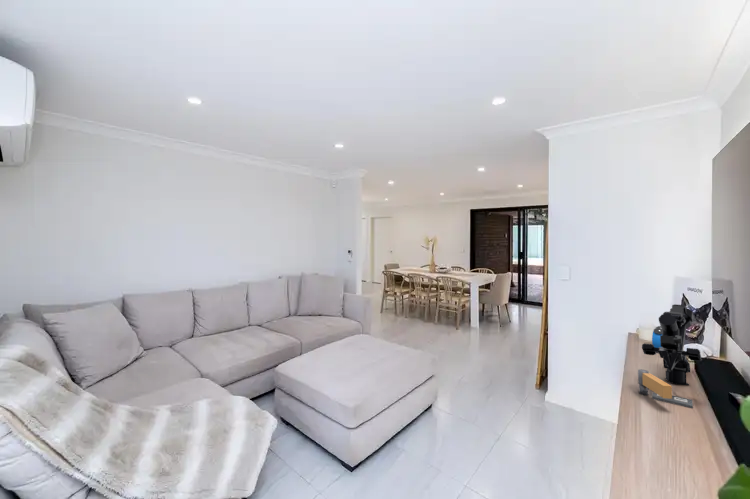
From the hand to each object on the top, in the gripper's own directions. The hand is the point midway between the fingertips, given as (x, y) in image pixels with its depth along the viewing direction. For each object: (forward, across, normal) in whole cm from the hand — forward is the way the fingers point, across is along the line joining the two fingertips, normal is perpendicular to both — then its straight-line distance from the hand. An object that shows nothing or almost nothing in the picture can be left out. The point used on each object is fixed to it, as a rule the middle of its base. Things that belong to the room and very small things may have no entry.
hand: (670, 369), depth 138 cm
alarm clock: (-43, -13, +65) cm, 80 cm away
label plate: (+10, 0, +8) cm, 13 cm away
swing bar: (+10, -5, +1) cm, 12 cm away
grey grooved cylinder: (+10, -10, +7) cm, 16 cm away
